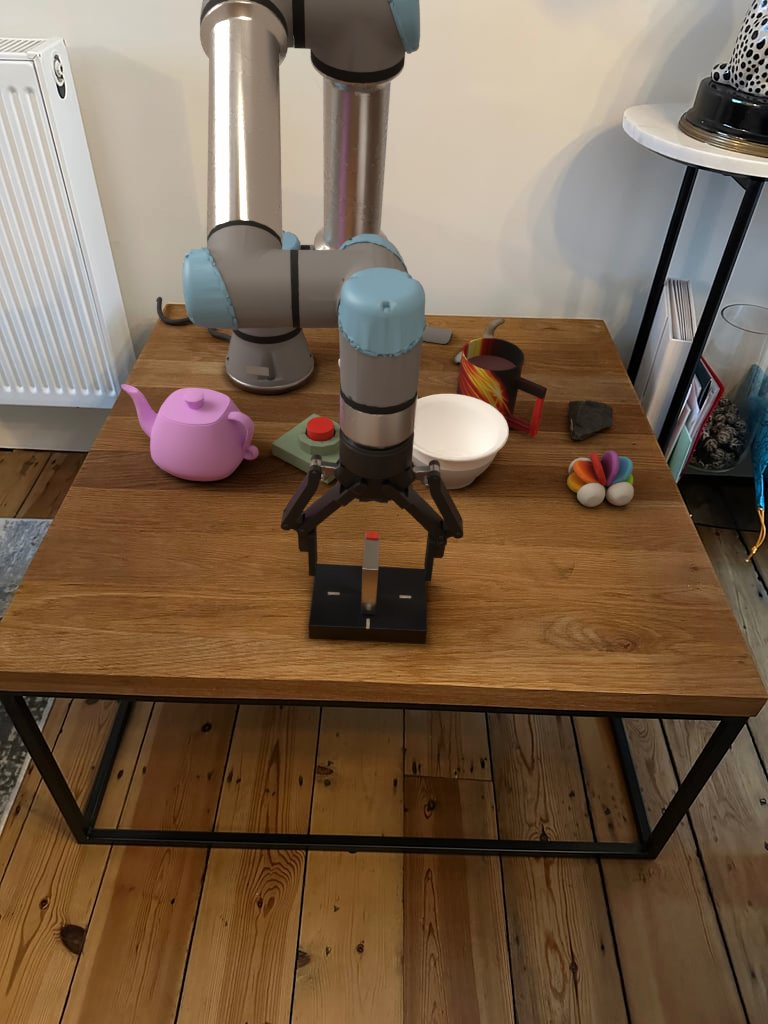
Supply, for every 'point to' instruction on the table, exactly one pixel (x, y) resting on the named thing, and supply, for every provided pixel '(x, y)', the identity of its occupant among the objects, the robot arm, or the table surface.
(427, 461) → the bowl
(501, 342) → the mug
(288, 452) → the button box
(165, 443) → the teapot
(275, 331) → the robot arm
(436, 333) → the half round rod
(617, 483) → the rainbow petal toy
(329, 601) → the control panel
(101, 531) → the table surface
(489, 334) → the skull
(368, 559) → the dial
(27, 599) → the table surface
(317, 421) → the button
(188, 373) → the table surface
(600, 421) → the rock
